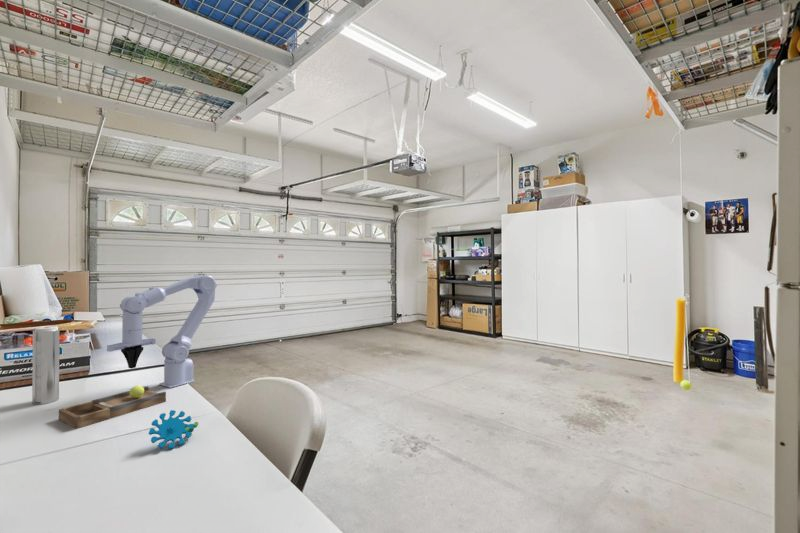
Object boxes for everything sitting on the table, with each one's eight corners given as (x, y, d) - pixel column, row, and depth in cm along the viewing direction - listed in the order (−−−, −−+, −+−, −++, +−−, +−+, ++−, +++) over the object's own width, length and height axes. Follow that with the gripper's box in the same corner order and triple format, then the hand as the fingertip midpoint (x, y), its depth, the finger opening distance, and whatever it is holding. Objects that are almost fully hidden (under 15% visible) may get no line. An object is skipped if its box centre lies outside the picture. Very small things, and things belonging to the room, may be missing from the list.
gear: (148, 449, 87) (151, 410, 94) (144, 460, 90) (147, 421, 97) (199, 442, 94) (198, 406, 100) (193, 452, 97) (193, 417, 103)
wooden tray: (146, 395, 129) (146, 386, 129) (165, 401, 123) (165, 391, 123) (58, 419, 108) (58, 409, 108) (76, 428, 102) (76, 417, 102)
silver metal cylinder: (27, 403, 121) (28, 328, 121) (52, 396, 127) (53, 325, 127) (38, 405, 118) (39, 329, 118) (63, 399, 124) (63, 326, 124)
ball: (140, 394, 123) (140, 383, 123) (146, 397, 121) (146, 385, 121) (126, 398, 120) (127, 386, 120) (133, 400, 118) (133, 388, 118)
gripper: (148, 326, 138) (148, 361, 138) (102, 331, 126) (102, 371, 126) (158, 327, 135) (158, 364, 135) (112, 333, 122) (112, 374, 122)
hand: (132, 367), depth 130 cm, fingers closed
